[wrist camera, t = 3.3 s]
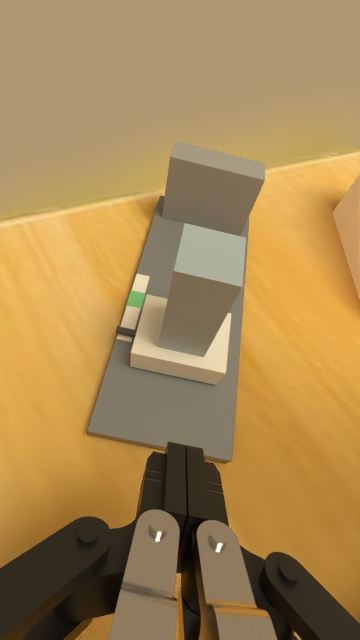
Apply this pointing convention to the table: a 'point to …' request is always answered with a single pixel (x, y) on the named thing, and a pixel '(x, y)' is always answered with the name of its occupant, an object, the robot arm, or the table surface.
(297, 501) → the table surface
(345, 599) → the table surface
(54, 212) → the table surface
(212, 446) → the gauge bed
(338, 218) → the white house-shaped block
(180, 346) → the gauge slider
